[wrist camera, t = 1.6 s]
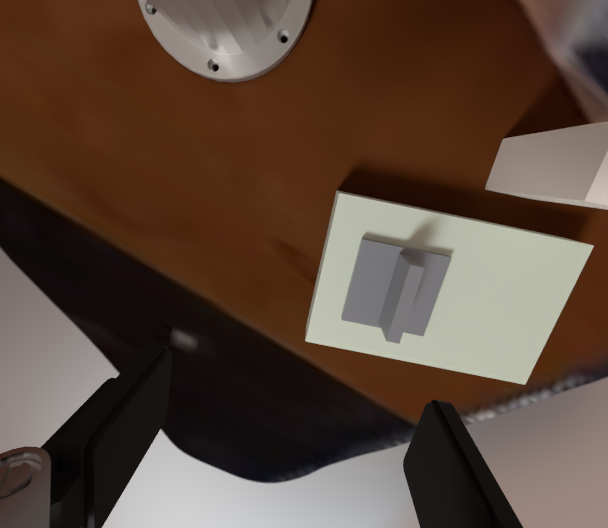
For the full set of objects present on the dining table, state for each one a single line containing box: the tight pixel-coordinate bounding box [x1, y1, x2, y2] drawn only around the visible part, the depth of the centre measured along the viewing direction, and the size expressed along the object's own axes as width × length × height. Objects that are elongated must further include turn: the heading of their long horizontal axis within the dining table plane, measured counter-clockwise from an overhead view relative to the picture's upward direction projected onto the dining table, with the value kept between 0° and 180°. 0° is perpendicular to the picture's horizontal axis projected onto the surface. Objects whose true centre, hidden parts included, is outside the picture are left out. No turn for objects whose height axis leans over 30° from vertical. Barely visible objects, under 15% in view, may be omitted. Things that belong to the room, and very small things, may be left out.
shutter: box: [341, 238, 451, 344], centre depth 24 cm, size 7×7×4 cm
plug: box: [485, 121, 608, 209], centre depth 19 cm, size 4×4×12 cm
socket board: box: [305, 190, 594, 385], centre depth 27 cm, size 13×20×3 cm, turn 79°
